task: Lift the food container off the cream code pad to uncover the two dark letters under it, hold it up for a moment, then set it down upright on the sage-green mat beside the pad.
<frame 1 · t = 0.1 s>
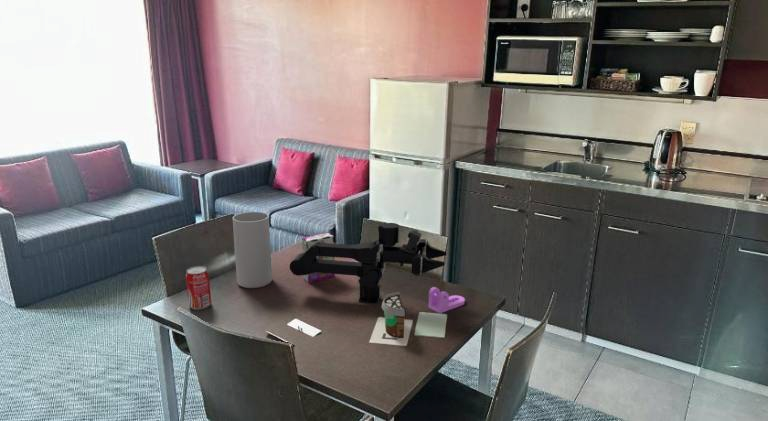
hand: (445, 258, 178), 17 cm above the table, fingers open, 9 cm apart
bracket: (448, 306, 183), on the table
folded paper: (292, 335, 163), on the table
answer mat: (431, 324, 169), on the table
food container: (391, 331, 165), on the table, touching code pad
code pad: (391, 330, 165), on the table
soda can: (200, 306, 180), on the table
candy bar box: (318, 278, 204), on the table
cylinder vase: (254, 282, 200), on the table
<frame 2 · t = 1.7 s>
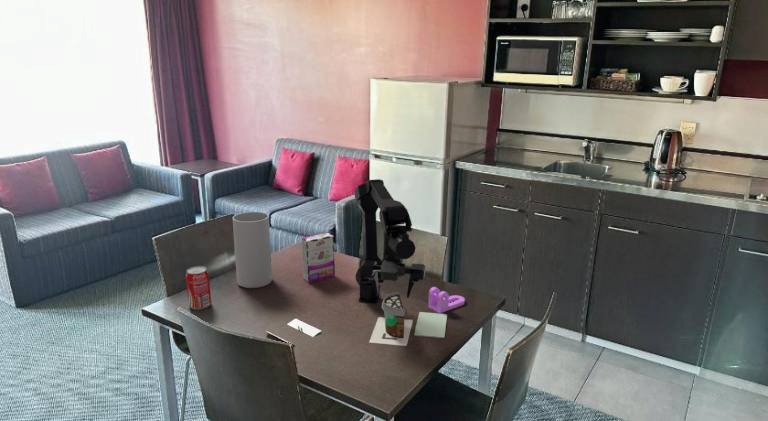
hand: (392, 296, 162), 11 cm above the table, fingers open, 9 cm apart
nothing on the table moved.
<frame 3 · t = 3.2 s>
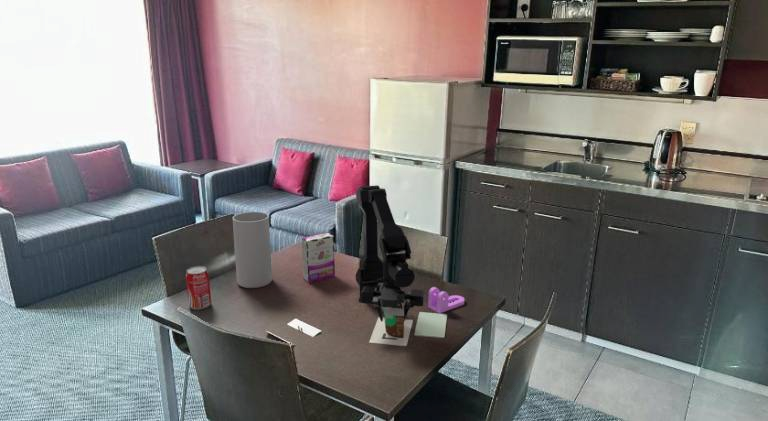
hand: (392, 321, 164), 3 cm above the table, fingers closed on food container, 6 cm apart
food container: (391, 331, 165), on the table, touching code pad, gripper
everything else where it was.
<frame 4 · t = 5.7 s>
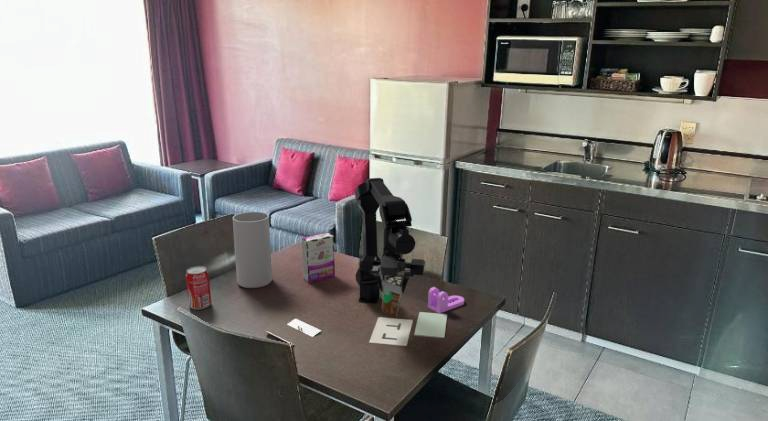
hand: (392, 291, 162), 13 cm above the table, fingers closed on food container, 6 cm apart
food container: (387, 309, 163), point 7 cm above the table, touching gripper
everything else where it was.
when the fingers open (6 cm above the table, at t = 8.3 s): food container stays where it is, resting on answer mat.
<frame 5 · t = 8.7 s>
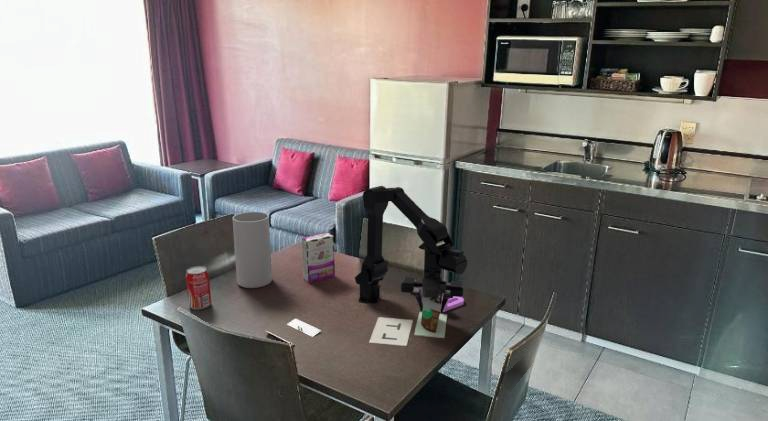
hand: (431, 312, 168), 4 cm above the table, fingers open, 6 cm apart
food container: (426, 324, 168), point 1 cm above the table, touching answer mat
everything else where it was.
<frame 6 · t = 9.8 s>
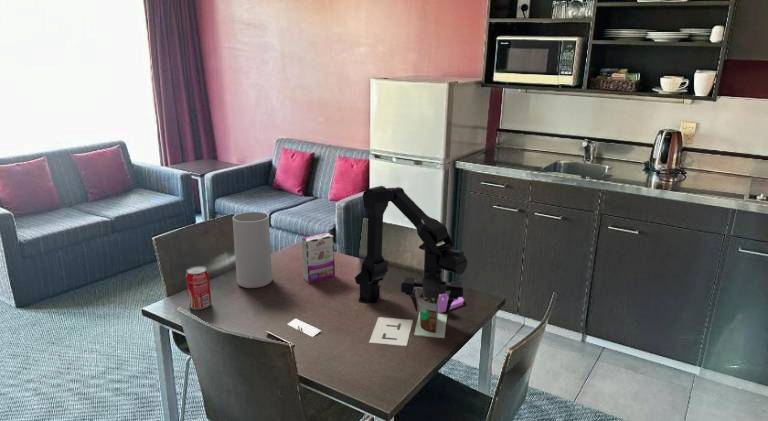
hand: (431, 312, 168), 4 cm above the table, fingers open, 9 cm apart
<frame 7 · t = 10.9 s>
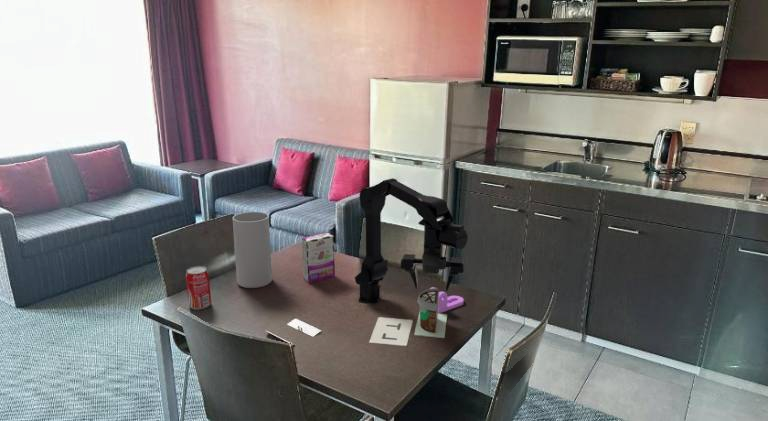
hand: (431, 289, 166), 12 cm above the table, fingers open, 9 cm apart
nothing on the table moved.
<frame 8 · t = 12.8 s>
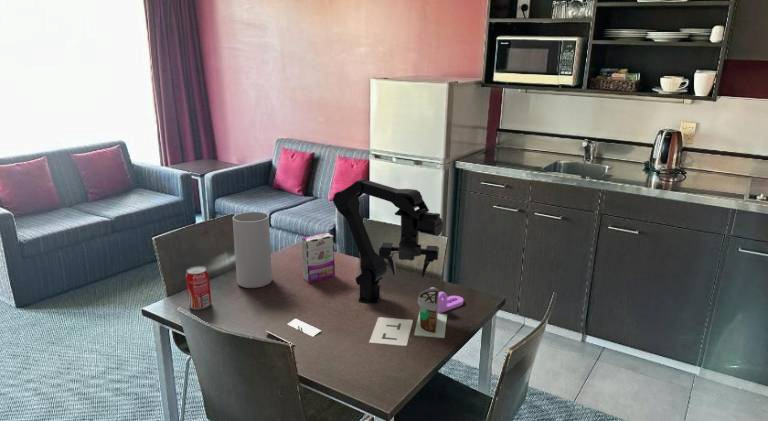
hand: (408, 275, 176), 12 cm above the table, fingers open, 9 cm apart
nothing on the table moved.
at the end: food container inside the target area on the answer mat (1.6 cm from its centre), point 0.1 cm above the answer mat's base; food container tilted 0°; the gripper is holding nothing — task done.
